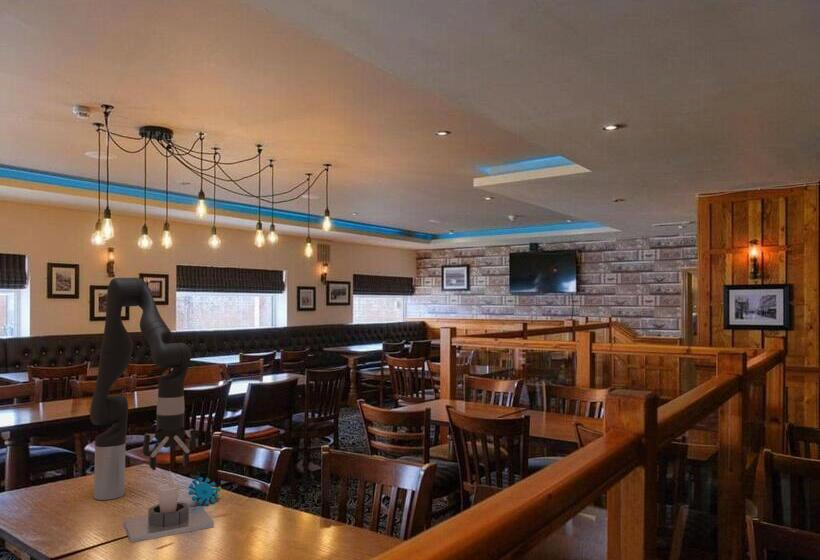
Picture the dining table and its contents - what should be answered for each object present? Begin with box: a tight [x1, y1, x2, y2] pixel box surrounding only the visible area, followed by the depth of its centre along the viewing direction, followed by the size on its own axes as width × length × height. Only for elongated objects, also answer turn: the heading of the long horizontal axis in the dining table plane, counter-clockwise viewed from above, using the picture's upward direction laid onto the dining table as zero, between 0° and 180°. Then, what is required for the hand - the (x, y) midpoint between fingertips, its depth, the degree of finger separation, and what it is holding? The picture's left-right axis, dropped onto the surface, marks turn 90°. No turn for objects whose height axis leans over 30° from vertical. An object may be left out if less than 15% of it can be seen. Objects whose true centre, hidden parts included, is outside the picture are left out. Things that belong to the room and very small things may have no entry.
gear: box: [188, 476, 222, 507], centre depth 197 cm, size 11×6×10 cm
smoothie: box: [156, 470, 181, 513], centre depth 176 cm, size 6×6×14 cm
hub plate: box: [122, 501, 215, 544], centre depth 176 cm, size 16×22×5 cm
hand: (169, 467), depth 177 cm, fingers open, 8 cm apart
